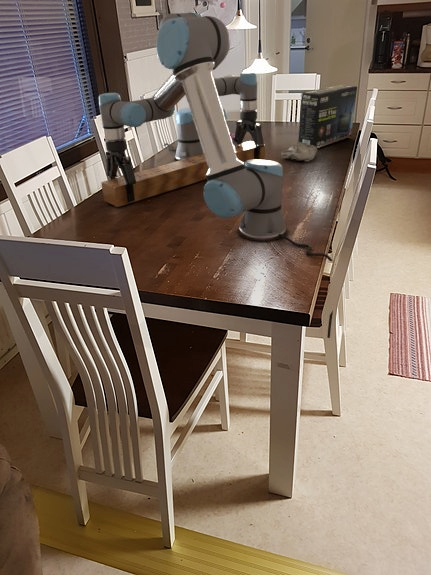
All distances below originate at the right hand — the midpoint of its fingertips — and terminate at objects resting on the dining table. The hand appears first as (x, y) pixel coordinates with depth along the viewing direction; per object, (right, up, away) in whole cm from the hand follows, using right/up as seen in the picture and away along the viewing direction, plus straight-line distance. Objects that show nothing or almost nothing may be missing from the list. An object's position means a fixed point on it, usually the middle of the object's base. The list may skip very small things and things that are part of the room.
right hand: (124, 197), depth 178 cm
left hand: (+51, +26, +39) cm, 69 cm away
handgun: (+44, +48, +80) cm, 104 cm away
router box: (+94, +42, +66) cm, 123 cm away
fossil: (+76, +28, +44) cm, 92 cm away
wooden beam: (+26, +12, +20) cm, 35 cm away
